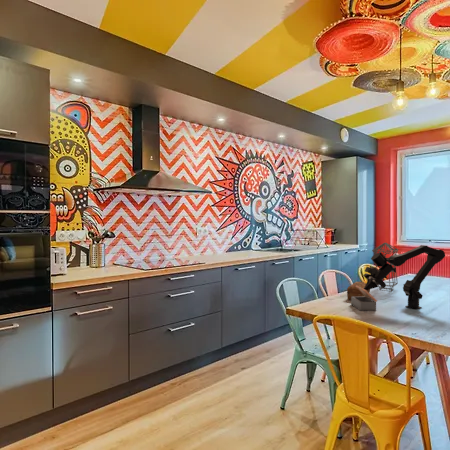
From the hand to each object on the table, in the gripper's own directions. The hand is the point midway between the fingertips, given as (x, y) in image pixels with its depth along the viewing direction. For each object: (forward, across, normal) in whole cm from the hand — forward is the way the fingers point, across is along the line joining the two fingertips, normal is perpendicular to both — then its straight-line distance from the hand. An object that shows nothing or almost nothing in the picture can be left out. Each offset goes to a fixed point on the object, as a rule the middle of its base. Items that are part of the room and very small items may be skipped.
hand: (363, 290), depth 205 cm
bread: (+3, -24, +12) cm, 27 cm away
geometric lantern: (-19, -50, +33) cm, 63 cm away
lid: (+1, 0, +2) cm, 2 cm away
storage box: (+7, 0, +7) cm, 10 cm away
